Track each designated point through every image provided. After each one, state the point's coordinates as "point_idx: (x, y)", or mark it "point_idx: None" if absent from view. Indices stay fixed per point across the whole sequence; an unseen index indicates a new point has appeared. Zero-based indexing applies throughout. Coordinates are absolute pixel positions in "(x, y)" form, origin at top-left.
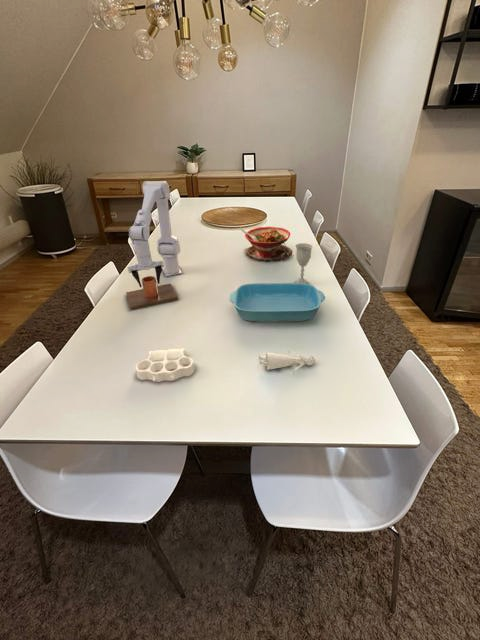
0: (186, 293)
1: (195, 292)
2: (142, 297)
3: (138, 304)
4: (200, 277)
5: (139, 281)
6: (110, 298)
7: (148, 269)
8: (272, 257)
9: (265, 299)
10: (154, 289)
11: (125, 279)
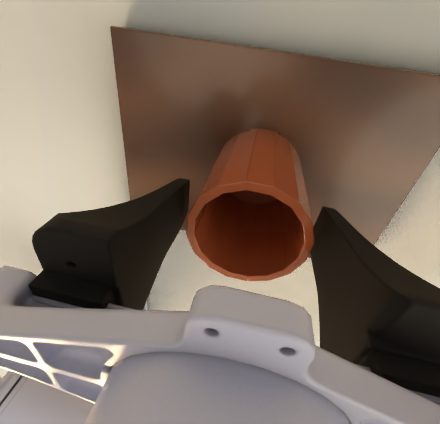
0: (68, 87)
1: (16, 66)
2: (320, 168)
3: (404, 83)
4: (9, 203)
5: (351, 237)
6: (435, 275)
7: (230, 291)
8: None
9: None
10: (237, 148)
11: None
